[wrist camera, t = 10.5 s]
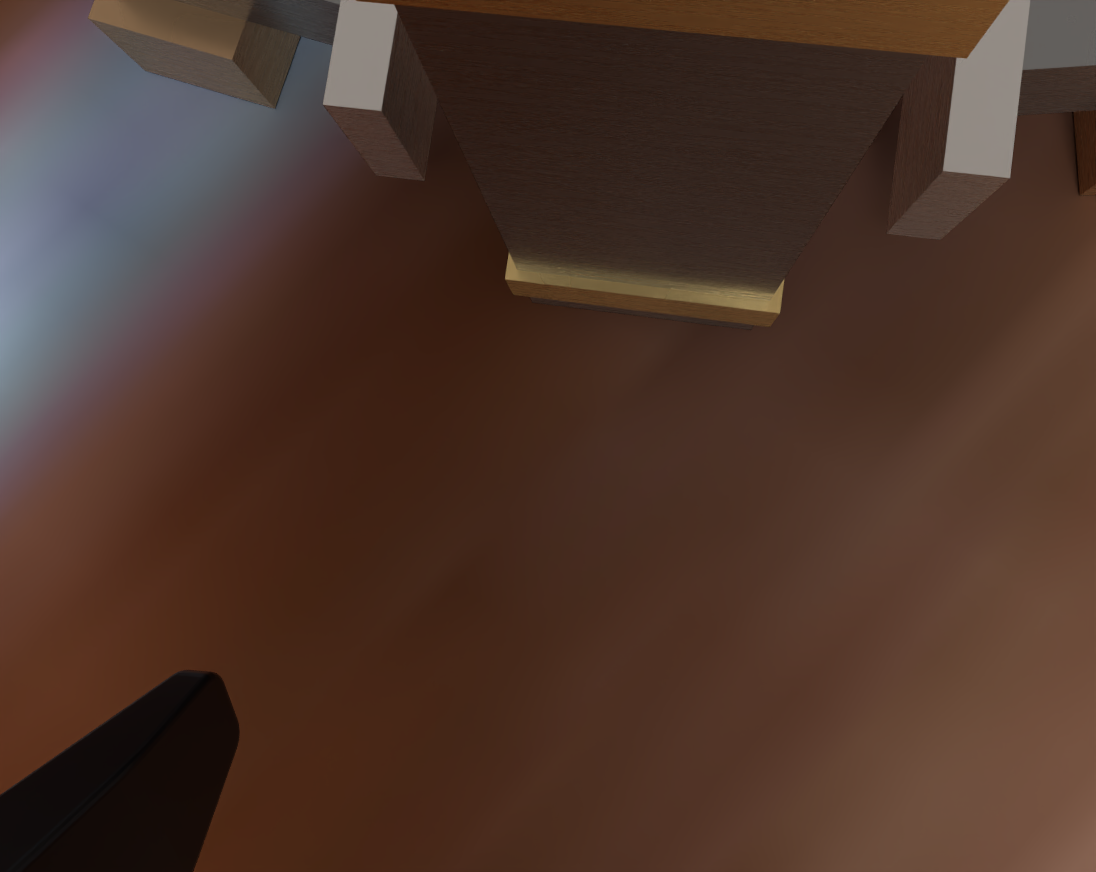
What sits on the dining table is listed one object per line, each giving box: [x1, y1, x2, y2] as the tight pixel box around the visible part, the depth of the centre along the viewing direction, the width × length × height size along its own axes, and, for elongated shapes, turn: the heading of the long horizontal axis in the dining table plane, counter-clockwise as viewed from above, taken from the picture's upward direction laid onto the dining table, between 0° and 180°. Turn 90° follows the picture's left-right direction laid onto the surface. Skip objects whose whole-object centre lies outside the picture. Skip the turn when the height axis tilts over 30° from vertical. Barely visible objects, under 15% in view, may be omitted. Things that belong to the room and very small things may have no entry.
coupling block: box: [356, 0, 1009, 330], centre depth 13 cm, size 5×5×13 cm
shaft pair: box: [88, 0, 1096, 240], centre depth 17 cm, size 6×23×5 cm, turn 82°
